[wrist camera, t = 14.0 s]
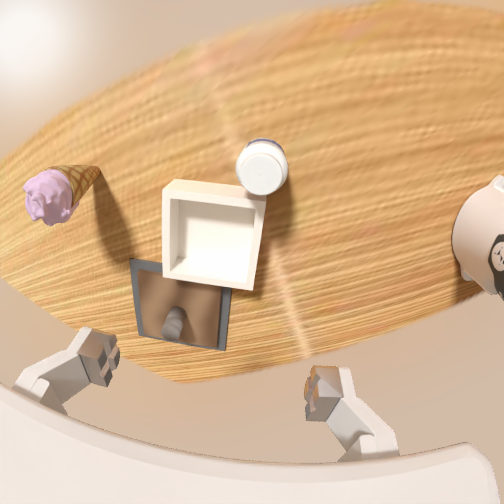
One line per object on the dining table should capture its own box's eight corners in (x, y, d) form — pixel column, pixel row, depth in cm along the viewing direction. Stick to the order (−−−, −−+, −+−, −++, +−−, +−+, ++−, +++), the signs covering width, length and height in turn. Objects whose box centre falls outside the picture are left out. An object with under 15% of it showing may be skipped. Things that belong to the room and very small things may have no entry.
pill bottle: (265, 187, 37) (264, 213, 29) (232, 161, 36) (220, 179, 27) (294, 156, 35) (302, 172, 27) (260, 128, 34) (257, 135, 25)
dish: (266, 189, 38) (266, 201, 33) (254, 270, 43) (252, 290, 39) (175, 178, 37) (162, 189, 33) (173, 259, 43) (162, 277, 39)
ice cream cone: (124, 173, 37) (60, 211, 24) (102, 203, 39) (40, 250, 26) (93, 142, 35) (21, 168, 22) (73, 174, 37) (5, 209, 24)
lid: (222, 282, 44) (215, 307, 39) (217, 343, 50) (211, 369, 45) (139, 269, 44) (124, 291, 38) (145, 330, 50) (134, 354, 44)
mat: (233, 273, 44) (232, 275, 43) (225, 349, 51) (224, 351, 51) (130, 258, 43) (129, 259, 43) (139, 333, 51) (138, 335, 50)
